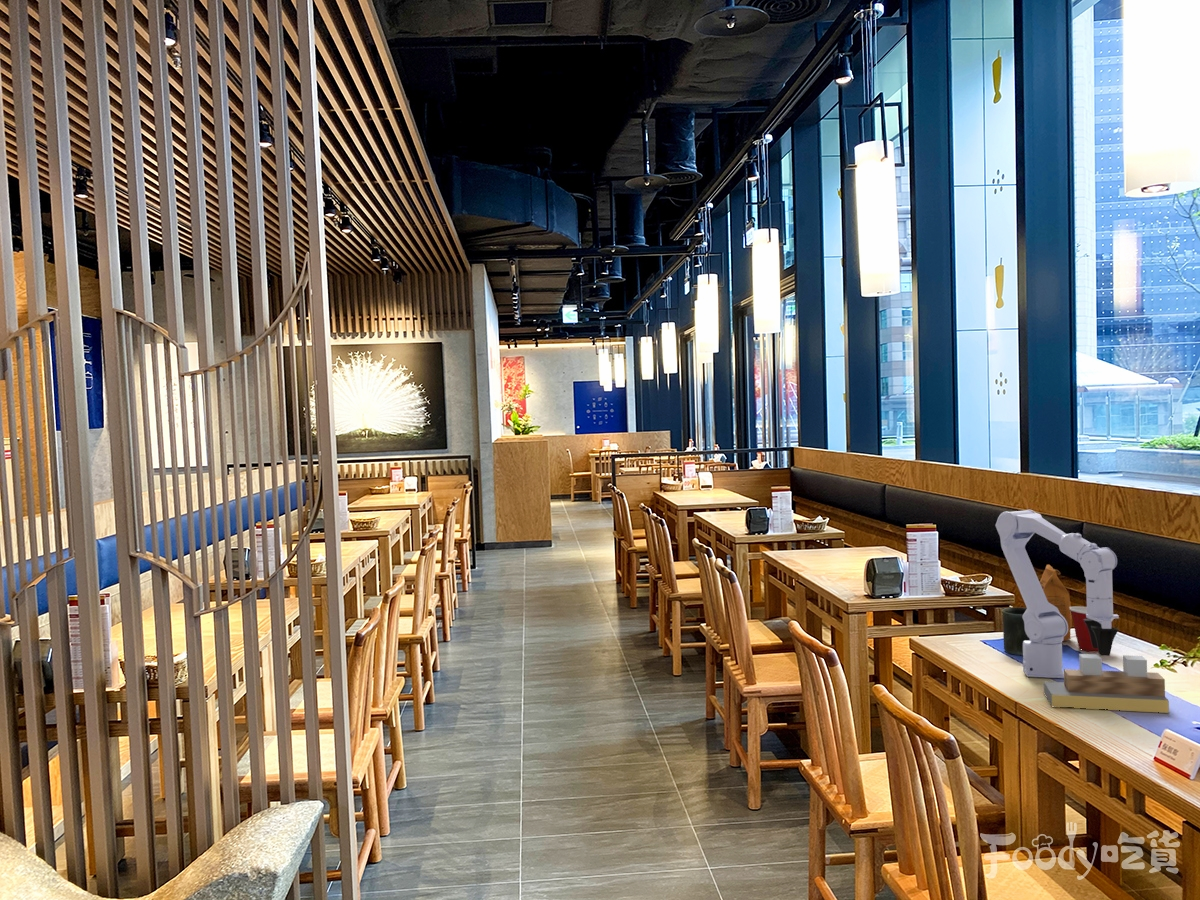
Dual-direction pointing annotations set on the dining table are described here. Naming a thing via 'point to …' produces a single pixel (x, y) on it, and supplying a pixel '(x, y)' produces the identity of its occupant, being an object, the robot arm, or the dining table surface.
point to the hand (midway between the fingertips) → (1101, 651)
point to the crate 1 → (1090, 664)
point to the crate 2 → (1134, 666)
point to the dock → (1103, 700)
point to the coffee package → (1057, 594)
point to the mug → (1014, 630)
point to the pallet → (1114, 683)
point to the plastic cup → (1081, 628)
